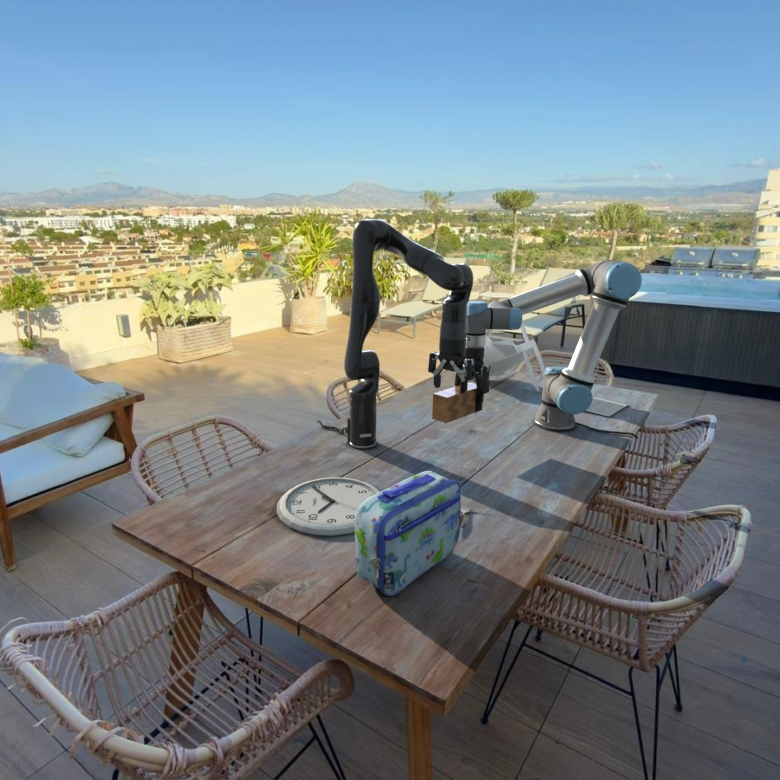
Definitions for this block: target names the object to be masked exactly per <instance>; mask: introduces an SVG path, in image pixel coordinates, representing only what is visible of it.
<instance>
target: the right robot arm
mask: <svg viewBox="0 0 780 780" xmlns="http://www.w3.org/2000/svg"><path fill="white" fill-rule="evenodd" d="M642 281H643V279H642V273H641V272H640V269H639V268H638V267H637V266H636V265H634V264H632V263H631V262H628V261H623V260H615V259H605V260H601V261H599V262H596V263H593V264H591V265H589V266H586V267H583V268H580V269H578V270H576V271H575V274H572V275H569V276H567V277H564V278H562V279H561V278H560V279H558V280H556V281H553V282H550V283H547V284H544V285H542V286H539V287H536V288H533V289H531V290H528V291H525V292H521V293H520V294H516V295H514V296H511V297H508V298H505V299H502V300H496V301H495V300H494V301H492V302H490V303H489V304H488V303H487V302H486V301H483V300H470V301H468V304H467V317H466V326H467V332H466V333H467V336H466V348H465V359H474V360H475V378H474V381H475V384H476V386H477V391H478V393H477V394H476V402H475V411H476V413H478V412H481V411H482V410H481V405H482V402H483V403H484V399H485V398H484V397H485V394H488V393H490V376H489V371H490V366H489V365H488V366H487V365H485V364H484V362H483V358H484V350H485V348H484V347H483V346H484V345H485V335H486V332H487V330H489V331H492V330H493V331H494V330H495V331H496V330H497V331H498V330H500V331H501V330H502V331H516V330H517V331H518V330H521V328H520V327H521V325H522V320H523V316H524V315H528V314H530V313H532V312H536V311H539V310H541V309H544V308H547V307H550V306H553V305H556V304H558V303H561V302H563V301H567V300H570V299H573V298H575V297H579V296H584V297H587V296H590V295H591V299H592V301H593V303H592V307H591V309H590V311H589V314H588V317H587V318H586V322H585V324H584V326H583V329H582V331H581V335H580V336H579V339H578V342H577V344H576V346H575V349H574V351H573V353H572V357H571V359H570V361H569V364H568V366H548V367H545V374H544V378H543V381H542V382H543V384H542V394H541V402H540V405H539V407H538V410H537V411H536V413H535V417H534V424H535V425H536V426H537V427H539V428H542V429H544V430H549V431H556V432H567V431H572V430H574V429H575V428H576V425H577V426H580V427H583V428H586V429H589V430H592V431H595V432H600V433H605V434H616V435H617V434H618V435H629V436H632V437H634V438H635V439H639V437H638V435H636V433H633V432H629V431H627V432H626V431H617V430H606V429H604V430H603V429H599V428H596V427H595V428H594V427H591V426H588V425H586V424H583V423H580V422H577V421H576V418H575V417H576V416H575V415H579V414H582V413H584V412H586V411H585V410H587V409H588V408H589V406H590V405H591V403H592V398H593V393H592V389H593V387H594V384H595V381H596V380H595V378H594V376H593V375H594V372H595V369H596V367H597V365H598V362H599V360H600V358H601V355H602V353H603V351H604V348H605V346H606V343H607V341H608V339H609V336H610V334H611V331H612V329H613V326H614V325H615V324H614V323H615V322H616V319H617V317H618V314H619V313H620V310H622V309H624V308H626V307H627V305H628V303H629V302H630V301H629V300H630V299H631V298H632V297H635V296H636V294H638V292H639V291H640V289H641V287H642V284H643V283H642ZM463 365H464V366H465V367H464V368H465V369H466V373H467V366H466V364H465V363H464V364H463ZM481 368H482V371H481ZM459 370H460V369H459ZM460 371H461V370H460ZM476 372H478V373H476ZM481 374H482V375H481ZM454 377H455V378H454V387H456V386H459V385H460V382H461V379H460V377H459V375H457V373H456V372H455V376H454ZM482 406H483V405H482ZM480 410H481V411H480ZM477 411H478V412H477Z"/></svg>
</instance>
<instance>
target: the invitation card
mask: <svg viewBox="0 0 780 780" xmlns="http://www.w3.org/2000/svg"><path fill="white" fill-rule="evenodd" d="M628 406H629V404H627V403H623V402H618V401H614V400H609V399H605V398H601V397H596V396H593V397H592V403H591V405H590V406H589V408H588V409H587V410H585V411H584V412H587V413H593V414H596V415H600V416H604V417H608V418H609V417H611V416H613V415H614V414H616V413H617V412H619V411H621V410H623V409H624V408H626V407H628Z"/></svg>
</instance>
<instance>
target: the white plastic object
mask: <svg viewBox="0 0 780 780" xmlns="http://www.w3.org/2000/svg"><path fill="white" fill-rule="evenodd" d="M520 332H521V334H522V337H523V340H524V342H523V343H520V344H515V343H514V340H513V339H512V338H507V339H503V340H499V341H492V339H491V338H490V337H489V336H488V335H487V334H485V345H484V346H483V347H484V348H485V350H484V358H483V362H484V364H485V365H487V366H488V365H489V366H490V371H489V377H495V378H499V377H501V376H504V375H505V373H506V372H507V371H508V370H510V369H511V368H512V367H514V366H515V365H517V364H518V363H520V362H521V361H522V360H523V359H524V363H525V366H526V369H527V372H528V375H529V378H530V381H531V384H532V386H533V387H534V389H535V390H536V392H539V391H540V390H539V389H540V388H539V385H538V382H537V378H536V376H535V372H534V370H533V367H532V363H531V359H530V357H529V356H531V355H534V354H535V357H536V360H537V363H538V366H539V369H540V372H541V374H542V378H543V379H544V374H545V369H546V367H545V364H544V361H543V358H542V356H541V352H540V349H539V347H538V343H537V342H536V340H535V339H529V335H528V332H527V330H526V327H525V324H524V321H523V319H522V325H521V327H520ZM463 366H464V364H463ZM464 367H465V366H464ZM481 371H482V368H481ZM476 373H478V372H476ZM481 375H482V374H481Z"/></svg>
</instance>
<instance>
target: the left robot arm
mask: <svg viewBox="0 0 780 780" xmlns="http://www.w3.org/2000/svg"><path fill="white" fill-rule="evenodd" d="M379 251H386V252H389V253H391V254H394V255H396V256H398V257H399V258H400V259H401V260H402V261H403V262H404V263H405V264H406V265H407V266H408V267H409V268H410V269H412V270H413V271H415V272H417V273H419V274H421V275H422V276H424V277H428V278H429V279H430V280H431V282H433V284H435V285H436V286H437V287H440V288H441V289H443V290H445V291H449V294H448V297H447V298H445V299H444V300H443V301H442V304H441V319H440V320H441V321H440V326H439V341H438V342H439V343H438V351H439V353H438V352H437V351H434V352H430V353H429V355H428V356H429V357H428V367H427V372H428V373H430V374H432V375H433V386H434V389H439V388H440V387H441V385H442V384H441V383H442V373H443V371H450V372H455V374H456V373H457V375H459V377H460V379H461V382H460V393H461V394H463V393H465V392H466V391H467V386H468V383H469V382H471V380H475V360H474V359H465V348H466V336H467V333H466V332H467V326H466V317H467V304H468V302H470V301H469V300H470V298H471V294H472V291H473V286H474V273H473V270H472V268H471V267H470V265H468V264H466V263H454V264H452V263H449V262H447V261H445V259H444V257H443V256H442V255H441V254H440V253H438V252H436V251H434V250H432V249H429V248H428V247H425V246H423V245H421V244H419V243H417V242H415V241H414V240H412V239H410V238H408V237H407V236H405V235H404V234H403V233H401V232H399V230H398V229H396V228H395V227H393V226H392V225H391V224H389V223H388V222H386V221H385V220H383V219H376V218H375V219H361V220H359V221H357V223H356V224H355V226H354V228H353V232H352V268H353V269H352V285H351V295H350V311H349V327H348V335H347V342H346V346H345V347H346V348H345V354H344V362H343V366H344V367H343V368H344V369H343V370H344V374H345V376H346V377H347V379H349V381H358V383H356V384H355V385H354V386H352V387H351V388H350V390H349V416H348V417H347V419H346V421H347V422H346V424H347V426H345V427H343V428H342V429H340V428H339V427H336V426H329V425H324V424H323V423H322V421H321V420H317V421H316V423H317V424H319V425H320V426H321V427H322V428H325V429H331V430H336V431H338V433H339V434H344V431H345V434H347V435H346V436H347V439H346V440H347V445H349V446H350V447H352V448H354V449H357V450H358V449H360V450H366V449H371V448H374V447H376V446H377V402H378V401H377V395H378V391H379V387H380V370H381V368H380V367H381V365H380V358H379V356H378V354H377V353H376V352H375V351H374V350H371V349H369V350H363V348H364V344H365V341H366V338H367V337H368V335H369V333H370V332H371V330H372V328H373V327H374V326H375V324H376V322H377V320H378V318H379V314H380V307H381V290H380V288H379V284H378V282H377V280H376V279H377V278H376V276H375V273H374V264H373V263H374V255H375V252H379ZM437 361H439V364H438V363H437ZM464 363H465V364H466V366H467V373H466V369H465V368H464V366H463V365H464ZM437 364H438V365H437ZM459 369H460V370H461V371H460V370H459Z"/></svg>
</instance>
